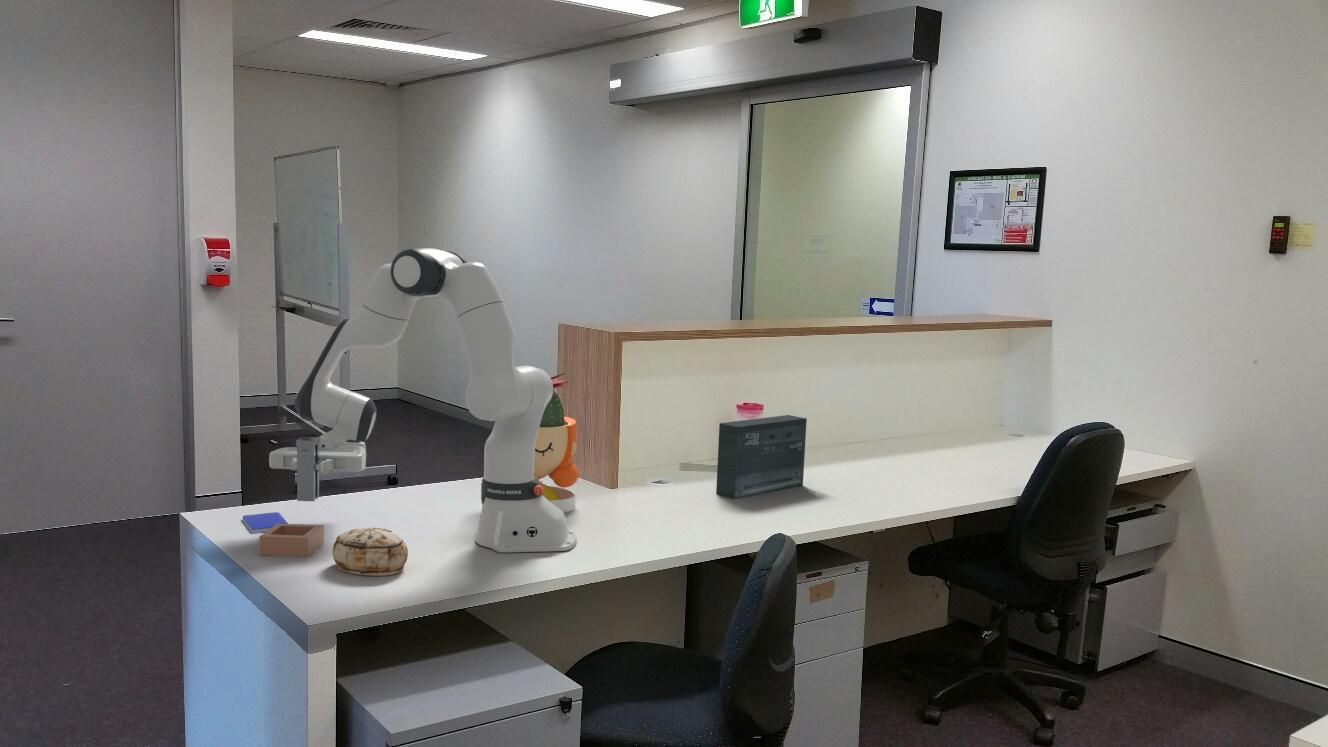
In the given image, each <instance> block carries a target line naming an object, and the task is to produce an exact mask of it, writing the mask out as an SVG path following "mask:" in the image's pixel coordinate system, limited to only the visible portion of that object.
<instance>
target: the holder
mask: <svg viewBox="0 0 1328 747" xmlns="http://www.w3.org/2000/svg"><path fill="white" fill-rule="evenodd" d="M324 526H325V525H324V524H310V523H309V524H307V523H288V524H280V523H277V524H276V525H274V526H273V527H272V528H270V529H269V530H267V531H266V532H262V534H261V535H259V556H273V557H274V556H279V557H309V556H310V557H311V555H312V554H313V553H314V552H315V551H316V550H318V549H319V548H320V547H321V546H323V544H324V543H325V540H324V538H325V534H324V533H325V528H324Z"/></svg>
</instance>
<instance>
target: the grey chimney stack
mask: <svg viewBox="0 0 1328 747" xmlns="http://www.w3.org/2000/svg"><path fill="white" fill-rule="evenodd" d="M319 443H320V436H317V437H315V436H301V437H299V438H297V439H296V440H295V447H297V470H296V501H298V502H315V501H316V500H318V499H319V498H320V473H319V471H315V468H316V467H315V463H317V462H319Z"/></svg>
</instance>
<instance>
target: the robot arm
mask: <svg viewBox="0 0 1328 747" xmlns="http://www.w3.org/2000/svg"><path fill="white" fill-rule="evenodd" d="M422 297H423V298H428V299H443V298H444V299H445V298H446V299H447V300H448V301H449V302H450V304H451V306H452V308H453V311H454V314H455V317H456V319H457V322H458V325H459V328H460V331H461V333H462V337H463V340H464V343H465V345H466V349H467V353H468V358H469V370H470V371H469V382H468V384H467V386H466V389H465V394H464V400H465V404H466V407H467V409H468V411H469V412H470V413H471V414H472V416H474V417H475V418H477V419H478V420H482V421H483V420H484V421H490V422H495V423H494V426H493V429H492V431H491V433H490V435H489V436H488V437H487V439H486V441H485V443H484V450H483V451H484V457H483V458H484V460H483V461H484V462H483V477H482V479H481V483H480V485H481V486H480V501H481V504H482V507H481V513H480V514H481V515H480V520H479V525H478V528H477V533H476V536H475V538H474V541H475V543H476V544H478V545H479V546H482V547H484V548H489V549H492V550H494V551H495V552H496V553H497V552H498V553H531V552H564V551H565V552H566V551H569V550H571V549H572V548H574V547H575V546H576V545H577V541H578V540H577V534H576V533H575V532H574V531H572V530H570V529H568V524H567V520H566V516H565V513H563V512H562V510H560V509H559V508H558V507H556V506H555V505H554V504H553V503H551V502H550V501H549V500H547V499H546V498H545V497H544V496H542V494H543V484H544V483H543V480H541V479H540V480H539V481H538V480H537V479H535V478H534V461H535V445H536V439H537V434H538V430H539V427H540V423H541V419H542V416H543V413H544V410H545V408H546V406H547V404H548V403H549V401H550V400H551V398H552V395H553V383H552V380H551V376H550V375H549V374H548V373H547V372H546V371H545V370H543V369H542V368H539V367H535V366H532V365H519V366H516V365H515V359H514V343H515V341H516V338H517V332H516V330H515V327H514V324H513V321H512V319H511V316H510V314H509V310H508V308H507V305H506V302H505V300H504V298H503V295H502V293H501V291H500V287H499V286H498V284H497V282H496V281H495V279H494V276H493V275H492V274H491V271H490V270H489V268H487V266H486V265H485V264H483V263H481V262H476V261H470V262H469V261H467V260H466V259H465V258H464V257H463V256H462V255H460V254H458V253H456V252H454V251H453V252H452V251H446V250H442V249H438V248H435V247H434V248H431V247H427V248H426V247H425V248H424V247H421V248H420V247H411V248H407V249H404V250H402V251H400V252H398V254H397V255H396V256H394V258H393V259H392V262H391V263H390V262H389V263H385V264H383V265H381V266H380V267H379V268H378V269H377V271H376V272H375V274H374V276H373V277H372V279H371V281H370V282H369V285H368V288H367V290H366V292H365V294H364V297H363V300H362V303H361V305H360V307H359V309H358V311H357V312H356V314H355V315H353V316H352V317H351V318H350V317H349V318H345V319H342V321H340V323H339V324H338V325H337V326H336V327H335V329H334V330H333V333H332V334H331V336H330V337H329V339H328V341H327V342H326V344H325V346H324V348H323V350H322V351H321V353H320V354H319V357H318V359H317V361H316V362H315V364H314V365H313V368H312V369H311V371H310V374H309V375H308V376H307V378H306V379H305V381H304V383H303V384H302V386H300V387H299V390H298V391H297V393H296V395H295V398H294V403H293V404H294V407H295V410H296V412H297V415H298V416H299V417H300V418H301V419H302V420H305V421H309V422H312V423H314V424H315V423H316V424H319V425H322V426H325V427H328V428H331V430H329V431H327V432H325V433H323V434H321V435H320V436H319V437H320V443H319V462H317V463H315V467H316V468H315V471H319V475H326V476H327V475H333V474H335V473H336V474H339V473H343V472H351V473H353V472H355V473H356V472H357V473H359V472H363V471H364V470H365V469H366V464H367V449H366V448H367V447H366V442H367V441H368V440H369V439H370V438H371V435H372V434H373V432H374V429H375V427H376V424H377V420H378V410H377V407H376V404H375V402H374V400H373V399H372V398H370V397H367V396H365V395H363V394H361V393H357V392H355V391H351V390H349V389H347V388H344V387H341V386H339V385H336V384H333V382H332V381H331V377H332V375H333V373H334V371H335V369H336V368H337V366H338V364H339V363H340V361H341V359H342V357H343V355H344V354H345V352H346V351H347V350H350V349H358V348H359V349H360V348H361V349H363V348H364V349H375V348H376V349H378V348H379V349H380V348H385V347H389V346H392V345H393V344H395V343H396V342H398V341H399V340H401V338H402V337H403V335H404V333H405V331H406V329H407V326H408V323H409V322H410V318H411V316H412V312H413V309H414V306H415V304H416V303H417V301H418V300H419V299H420V298H422ZM268 455H269V456H268V457H269V458H268V462H269V463H268V464H269V468H271V469H274V470H276V469H277V470H278V469H279V470H292V471H297V446H295V447H292V446H290V447H287V446H286V447H280V448H278V449H277V448H276V449H275V450H273V451H270V452H269V454H268Z"/></svg>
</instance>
